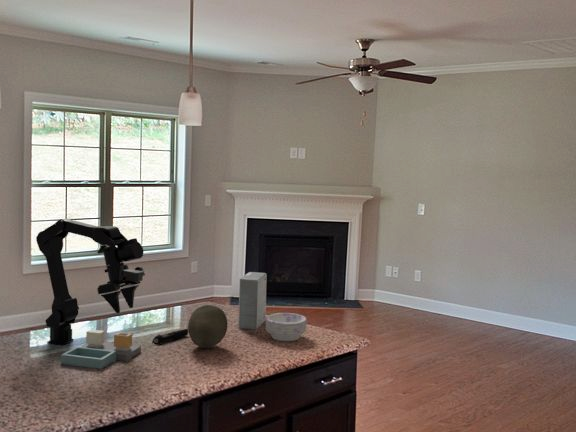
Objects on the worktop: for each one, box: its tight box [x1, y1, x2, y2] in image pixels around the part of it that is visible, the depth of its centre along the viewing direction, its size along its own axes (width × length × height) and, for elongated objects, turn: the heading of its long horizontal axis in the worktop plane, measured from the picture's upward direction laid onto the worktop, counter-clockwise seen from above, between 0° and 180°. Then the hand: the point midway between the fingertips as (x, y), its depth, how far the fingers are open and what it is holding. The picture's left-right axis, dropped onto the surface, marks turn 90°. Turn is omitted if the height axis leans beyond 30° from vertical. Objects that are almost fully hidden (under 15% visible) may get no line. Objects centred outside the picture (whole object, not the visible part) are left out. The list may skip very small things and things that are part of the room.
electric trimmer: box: [151, 328, 189, 345], centre depth 226 cm, size 4×16×3 cm, turn 143°
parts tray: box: [60, 346, 117, 370], centre depth 198 cm, size 14×9×3 cm, turn 77°
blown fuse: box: [113, 332, 133, 351], centre depth 206 cm, size 5×3×7 cm, turn 77°
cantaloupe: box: [187, 304, 228, 349], centre depth 217 cm, size 14×14×15 cm
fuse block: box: [80, 341, 142, 362], centre depth 207 cm, size 18×10×2 cm, turn 77°
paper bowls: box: [265, 312, 307, 342], centre depth 233 cm, size 15×15×8 cm
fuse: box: [85, 329, 106, 348], centre depth 208 cm, size 5×3×7 cm, turn 77°
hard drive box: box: [237, 271, 268, 331], centre depth 250 cm, size 16×8×20 cm, turn 169°
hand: (125, 310), depth 206 cm, fingers open, 9 cm apart
